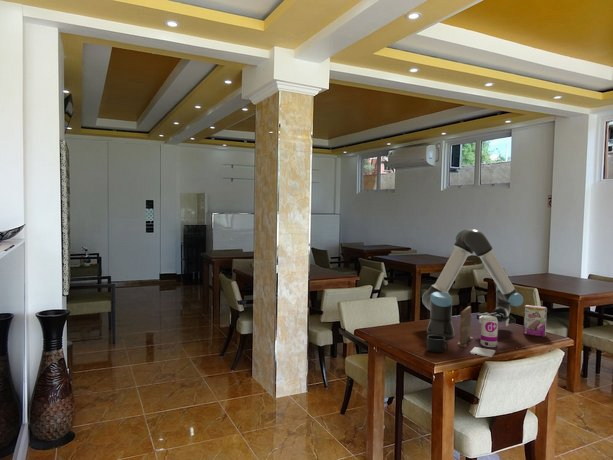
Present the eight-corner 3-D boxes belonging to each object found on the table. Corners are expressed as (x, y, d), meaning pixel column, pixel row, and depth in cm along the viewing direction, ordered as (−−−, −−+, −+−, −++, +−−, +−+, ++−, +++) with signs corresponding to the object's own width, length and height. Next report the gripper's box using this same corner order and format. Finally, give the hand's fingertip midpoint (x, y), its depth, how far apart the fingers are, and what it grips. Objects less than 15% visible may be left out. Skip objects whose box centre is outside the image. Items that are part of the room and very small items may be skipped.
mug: (422, 350, 226) (422, 336, 226) (434, 347, 231) (435, 333, 231) (441, 356, 216) (441, 342, 216) (453, 353, 221) (454, 339, 221)
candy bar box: (523, 334, 257) (523, 306, 256) (524, 332, 261) (525, 304, 260) (545, 337, 251) (546, 308, 250) (546, 335, 255) (546, 306, 254)
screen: (457, 346, 233) (457, 311, 233) (465, 338, 248) (466, 305, 248) (465, 347, 231) (465, 312, 230) (472, 339, 246) (473, 306, 246)
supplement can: (498, 348, 230) (499, 319, 230) (481, 347, 232) (482, 318, 231) (495, 343, 238) (496, 315, 238) (479, 342, 240) (479, 314, 239)
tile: (470, 353, 221) (470, 351, 221) (474, 348, 230) (474, 346, 230) (491, 357, 216) (491, 355, 216) (495, 351, 224) (495, 350, 224)
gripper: (523, 323, 253) (518, 331, 236) (477, 317, 267) (469, 325, 249) (523, 310, 253) (518, 317, 235) (477, 305, 267) (469, 312, 249)
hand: (493, 321), depth 242 cm, fingers open, 13 cm apart
